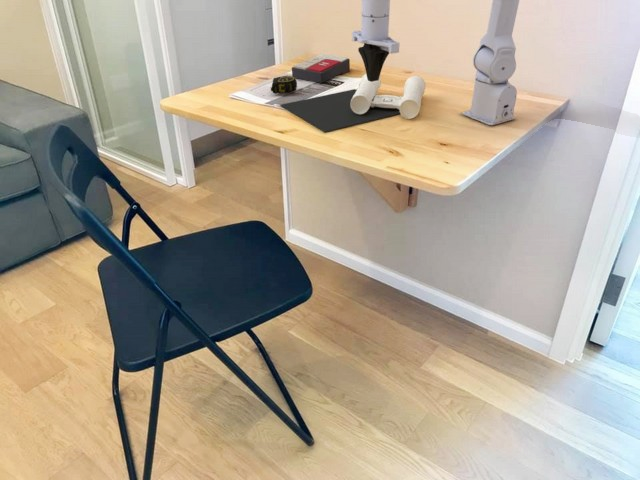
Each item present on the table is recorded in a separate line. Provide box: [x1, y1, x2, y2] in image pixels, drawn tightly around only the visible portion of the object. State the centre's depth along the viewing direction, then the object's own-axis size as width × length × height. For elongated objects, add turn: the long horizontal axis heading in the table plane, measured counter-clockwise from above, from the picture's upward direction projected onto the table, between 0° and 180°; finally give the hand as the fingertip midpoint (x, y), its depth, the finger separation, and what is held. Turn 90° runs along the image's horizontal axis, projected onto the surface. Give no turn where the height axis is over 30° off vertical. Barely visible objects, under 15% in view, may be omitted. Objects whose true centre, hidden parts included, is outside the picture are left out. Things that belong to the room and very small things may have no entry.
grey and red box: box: [291, 53, 351, 84], centre depth 157 cm, size 11×4×15 cm
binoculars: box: [350, 73, 427, 120], centre depth 131 cm, size 17×5×18 cm
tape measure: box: [270, 75, 298, 94], centre depth 143 cm, size 7×7×4 cm
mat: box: [279, 88, 401, 133], centre depth 132 cm, size 22×23×1 cm
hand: (373, 80), depth 117 cm, fingers closed
